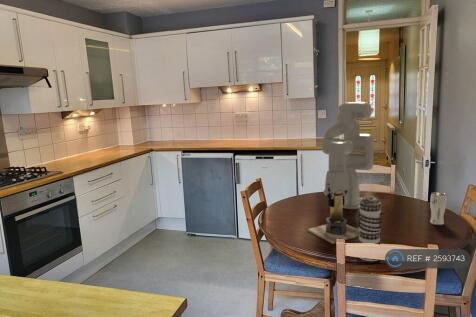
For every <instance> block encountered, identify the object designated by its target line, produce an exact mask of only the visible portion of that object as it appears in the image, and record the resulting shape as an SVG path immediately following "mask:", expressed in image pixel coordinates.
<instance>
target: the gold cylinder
mask: <svg viewBox="0 0 476 317" xmlns="http://www.w3.org/2000/svg"><path fill="white" fill-rule="evenodd" d="M331 194H332V193H331ZM333 199H334V207H330V206H329V207H330V211H329V212H330V216H329V217H330V218H331V219H332V220H333V221H340V220H342V219H343V218H344V217H343V215H344V213H343V212H344V211H343V209H344V208H343V190H342V191H337V192H336V193H334V197H333Z"/></svg>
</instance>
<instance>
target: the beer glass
mask: <svg viewBox="0 0 476 317" xmlns="http://www.w3.org/2000/svg"><path fill="white" fill-rule="evenodd" d="M429 203H430V204H429V205H430V206H429V207H430V211H431V212H430V213H431V214H430V220H429V222H430V224H432V225H436V226H443V225H444V224H445V222H444V215H445V211H446V207H447V193H444V192H440V191H439V192H438V191H437V192H436V191H434V192H431V195H430V200H429Z"/></svg>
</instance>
